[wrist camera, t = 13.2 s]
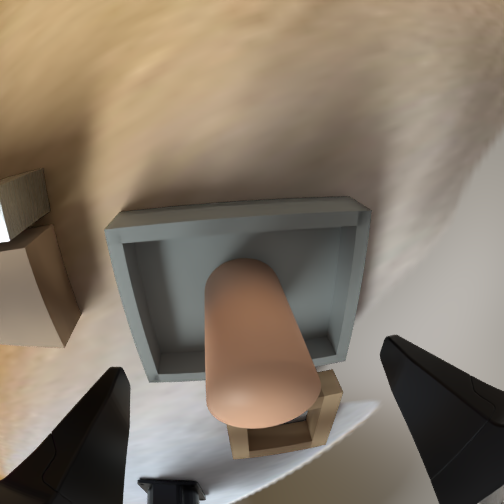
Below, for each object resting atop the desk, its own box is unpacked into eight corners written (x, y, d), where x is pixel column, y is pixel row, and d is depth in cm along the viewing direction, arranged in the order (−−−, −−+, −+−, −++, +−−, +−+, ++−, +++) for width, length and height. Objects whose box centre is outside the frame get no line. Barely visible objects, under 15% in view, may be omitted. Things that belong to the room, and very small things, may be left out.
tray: (332, 335, 16) (345, 360, 14) (153, 354, 15) (149, 382, 13) (349, 196, 13) (371, 210, 11) (119, 212, 12) (104, 229, 10)
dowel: (279, 318, 14) (314, 419, 9) (208, 325, 14) (213, 433, 8) (280, 254, 13) (328, 351, 7) (200, 261, 12) (198, 366, 7)
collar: (318, 425, 20) (325, 444, 19) (230, 438, 20) (233, 459, 18) (332, 369, 17) (343, 392, 16) (221, 385, 17) (224, 411, 15)
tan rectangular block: (83, 311, 14) (64, 348, 11) (-12, 312, 13) (-34, 340, 10) (55, 221, 12) (24, 248, 9) (-39, 240, 11) (-68, 263, 8)
